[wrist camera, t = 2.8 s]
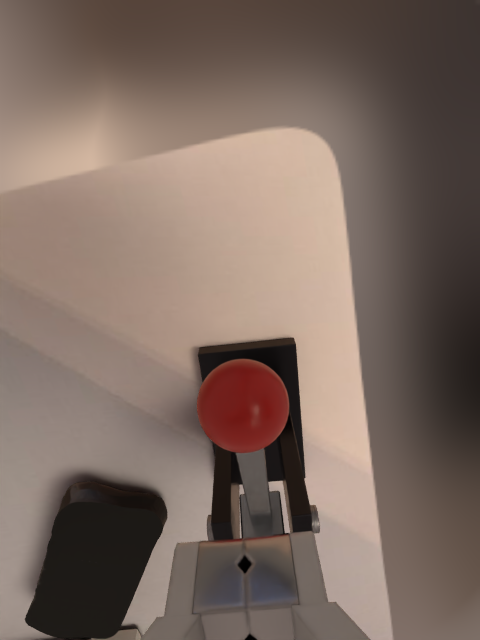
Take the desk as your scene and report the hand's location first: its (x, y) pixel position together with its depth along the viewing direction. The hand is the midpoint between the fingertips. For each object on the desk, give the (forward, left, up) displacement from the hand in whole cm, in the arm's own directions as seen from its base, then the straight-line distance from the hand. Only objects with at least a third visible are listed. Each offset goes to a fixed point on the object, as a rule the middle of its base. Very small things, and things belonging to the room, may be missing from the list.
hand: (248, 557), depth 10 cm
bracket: (+11, 0, -22) cm, 24 cm away
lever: (+5, 0, -10) cm, 11 cm away
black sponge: (+23, -15, -22) cm, 35 cm away
